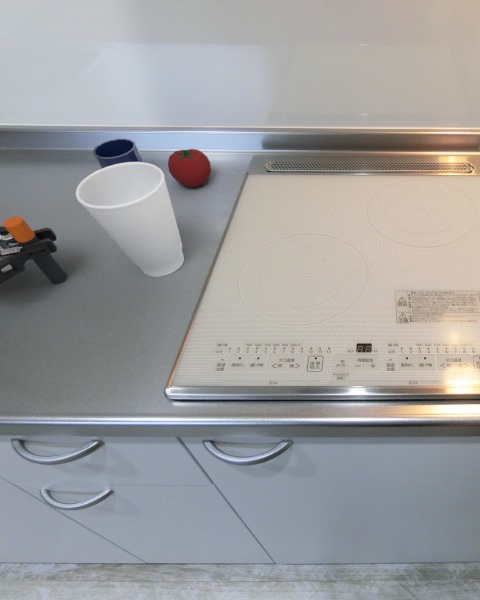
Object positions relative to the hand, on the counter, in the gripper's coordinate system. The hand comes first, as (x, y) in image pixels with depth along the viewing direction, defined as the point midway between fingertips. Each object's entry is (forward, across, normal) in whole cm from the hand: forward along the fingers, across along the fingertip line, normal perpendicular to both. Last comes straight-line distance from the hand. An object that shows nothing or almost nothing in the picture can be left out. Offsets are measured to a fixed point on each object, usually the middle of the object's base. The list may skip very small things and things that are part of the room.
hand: (53, 239), depth 68 cm
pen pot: (+11, +24, +8) cm, 28 cm away
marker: (-3, 0, +8) cm, 8 cm away
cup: (+13, -4, +8) cm, 16 cm away
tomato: (+23, +19, +8) cm, 31 cm away
